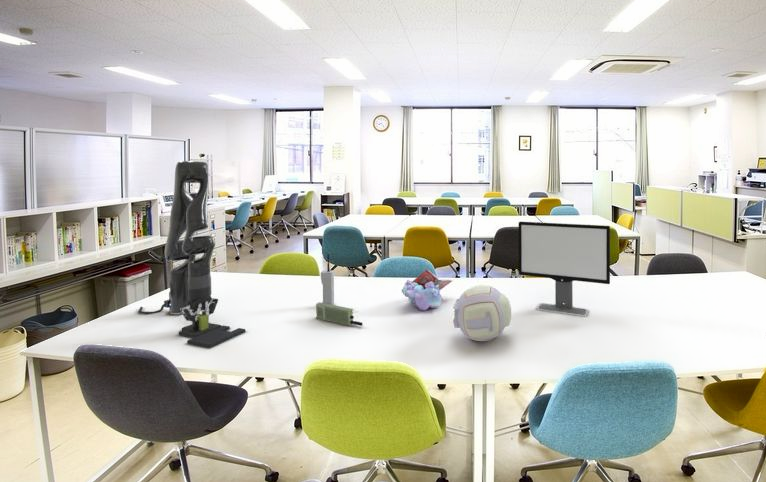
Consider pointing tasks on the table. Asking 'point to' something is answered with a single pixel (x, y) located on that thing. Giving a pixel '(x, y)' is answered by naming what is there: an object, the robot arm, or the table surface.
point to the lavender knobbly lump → (425, 290)
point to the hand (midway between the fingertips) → (200, 327)
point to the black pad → (196, 332)
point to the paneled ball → (482, 313)
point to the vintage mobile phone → (328, 285)
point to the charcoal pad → (215, 336)
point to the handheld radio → (336, 314)
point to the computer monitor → (564, 258)
